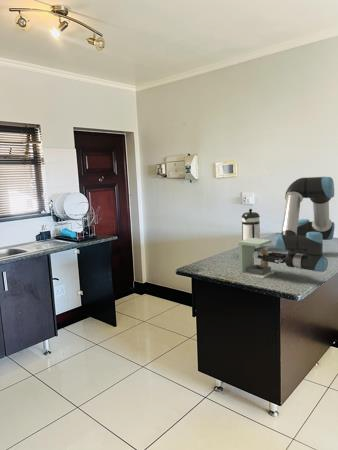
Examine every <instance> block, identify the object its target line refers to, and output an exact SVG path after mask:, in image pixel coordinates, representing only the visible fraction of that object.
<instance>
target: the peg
mask: <svg viewBox="0 0 338 450" xmlns="http://www.w3.org/2000/svg"><path fill="white" fill-rule="evenodd" d="M260 248H261V249H260V252H261V254H265V255H268V253H269V246H267V245H263V246H261V247H260ZM260 265H261V267H268V266H269V262H267V261H262V259H260Z"/></svg>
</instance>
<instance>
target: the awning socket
mask: <svg viewBox="0 0 338 450" xmlns="http://www.w3.org/2000/svg"><path fill="white" fill-rule="evenodd" d="M271 243H272V239H266V238H265V239H264V238H260V239H258V238H249V239H246V240H240V241H238V268H239V269H238V271H239V272H238V273H239V274H240V273H241V275H246V276H249V277H256V278H260V279H261V278H262V279H264V278H266V277H268V276H270V275H272V274H274V273H275V272H276V271H273V270H272V267H271V266H269V265H268V267H261V264H258V263H256V264H255V258H253V253H255V251H254V246H255V247H259V248H261V247H262V246H267V245H269V244H271Z"/></svg>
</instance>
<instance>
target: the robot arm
mask: <svg viewBox="0 0 338 450" xmlns="http://www.w3.org/2000/svg"><path fill="white" fill-rule="evenodd" d="M333 198H335V183H334V179H333V178H332V177H331V176H313V177H311V176H310V177H308V176H307V177H300V178H297V179H296V180H294V181H293V182H292V183H291V184H290V185H289V186H288V187H287V189H286V191H285V194H284V199H285V201H286V202H285V206H284V207H285V208H284V213H283V221H282V227H281V233H280V234H278V235H276V237H275V247H276V249H277V250H281V251H282V250H283V251H287V253H283V252H282V253H281V252H275V251H271V252H268V255H265V254H261V250H259V251H257V252H254V253H253V258H254V259H259V260H261V259H262V261H267V262H268V263H272V264H273V263H274V264H277V265H279V263H281V264H284V263H285V266H287V267H289V268H296V269H299V270H308V271H313V272H321V273H324V272H326V271H327V269H328V266H329V260H328V258H327V257H325V256H324V255H323V246H324V241H330V240H333V238H334V234H335V222H334V221H332V219H331V218H330V200H331V199H333ZM303 199H309V200H310V201H311V202H312V208H313V220H312V221H310V220H309V219H308V218H306V219H305V218H302V219H300V218H299V217H300V209H301V203H302V202H303Z"/></svg>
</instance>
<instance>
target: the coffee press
mask: <svg viewBox="0 0 338 450" xmlns="http://www.w3.org/2000/svg"><path fill="white" fill-rule="evenodd" d="M260 223H261V222H260V214H259V213H258V212H255V211H253V209H252V208H249V209H248V211H247V212H244V213H242V215H241V231H242V232H241V238H242V240H246V239H249V238H258V239H261V238H260V237H261V236H260V232H261V231H260V230H261V228H260ZM242 240H241V241H242ZM256 249H259V250H261V247H255V246H254V252H256Z"/></svg>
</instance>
